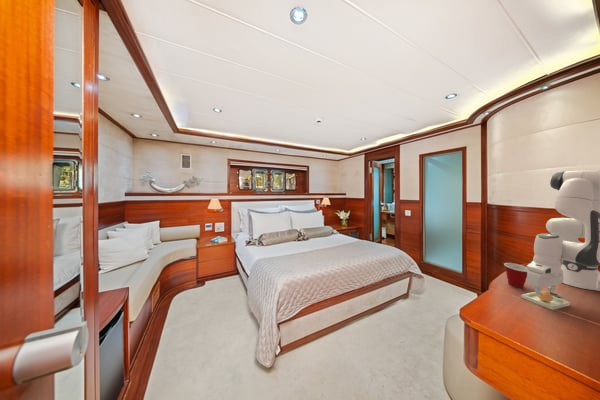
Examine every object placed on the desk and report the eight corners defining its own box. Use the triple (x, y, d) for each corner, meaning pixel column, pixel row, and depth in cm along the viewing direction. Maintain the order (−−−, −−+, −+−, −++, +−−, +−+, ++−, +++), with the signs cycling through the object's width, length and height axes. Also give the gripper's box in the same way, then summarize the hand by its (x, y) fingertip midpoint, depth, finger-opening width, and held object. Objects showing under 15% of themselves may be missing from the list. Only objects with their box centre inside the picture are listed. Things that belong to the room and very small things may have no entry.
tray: (537, 294, 107) (538, 291, 107) (569, 306, 96) (570, 302, 96) (521, 298, 104) (521, 294, 104) (552, 310, 93) (552, 306, 93)
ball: (541, 297, 103) (541, 288, 103) (555, 302, 98) (555, 292, 98) (534, 299, 102) (534, 289, 102) (548, 304, 97) (549, 294, 97)
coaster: (545, 291, 110) (545, 289, 110) (565, 298, 103) (565, 296, 103) (537, 293, 108) (537, 291, 108) (556, 300, 101) (556, 298, 101)
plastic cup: (526, 292, 109) (527, 271, 109) (499, 284, 119) (500, 264, 118) (533, 288, 114) (534, 267, 113) (507, 280, 124) (508, 261, 123)
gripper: (550, 261, 105) (549, 287, 105) (524, 266, 100) (522, 292, 100) (569, 266, 99) (568, 293, 99) (542, 271, 94) (540, 299, 94)
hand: (545, 293), depth 100 cm, fingers open, 8 cm apart
